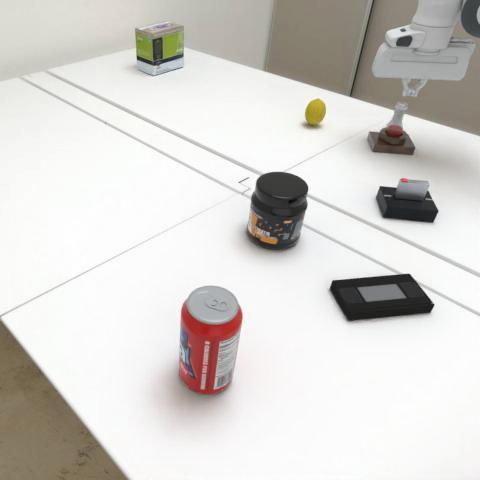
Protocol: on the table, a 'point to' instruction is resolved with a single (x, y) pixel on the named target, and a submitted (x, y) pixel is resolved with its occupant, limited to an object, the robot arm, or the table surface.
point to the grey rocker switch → (411, 189)
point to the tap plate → (405, 206)
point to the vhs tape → (380, 297)
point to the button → (394, 130)
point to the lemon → (315, 111)
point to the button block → (390, 143)
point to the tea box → (159, 47)
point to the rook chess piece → (398, 114)
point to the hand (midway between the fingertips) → (409, 95)
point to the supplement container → (277, 210)
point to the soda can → (209, 339)
